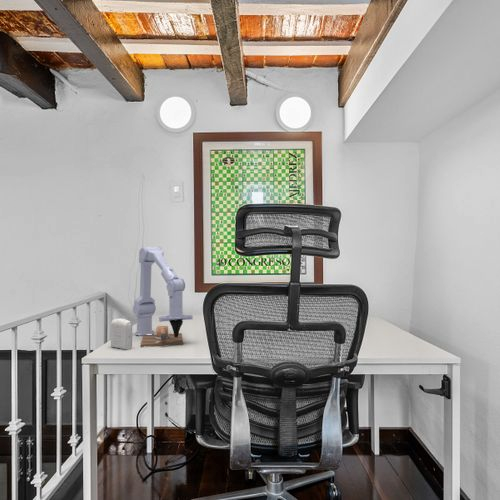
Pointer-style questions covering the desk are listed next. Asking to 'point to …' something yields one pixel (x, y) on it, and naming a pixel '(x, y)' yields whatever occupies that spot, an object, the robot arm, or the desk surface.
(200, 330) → the desk surface
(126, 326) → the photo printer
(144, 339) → the walnut base
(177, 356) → the desk surface
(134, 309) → the robot arm
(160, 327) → the wooden tool handle
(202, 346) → the desk surface
